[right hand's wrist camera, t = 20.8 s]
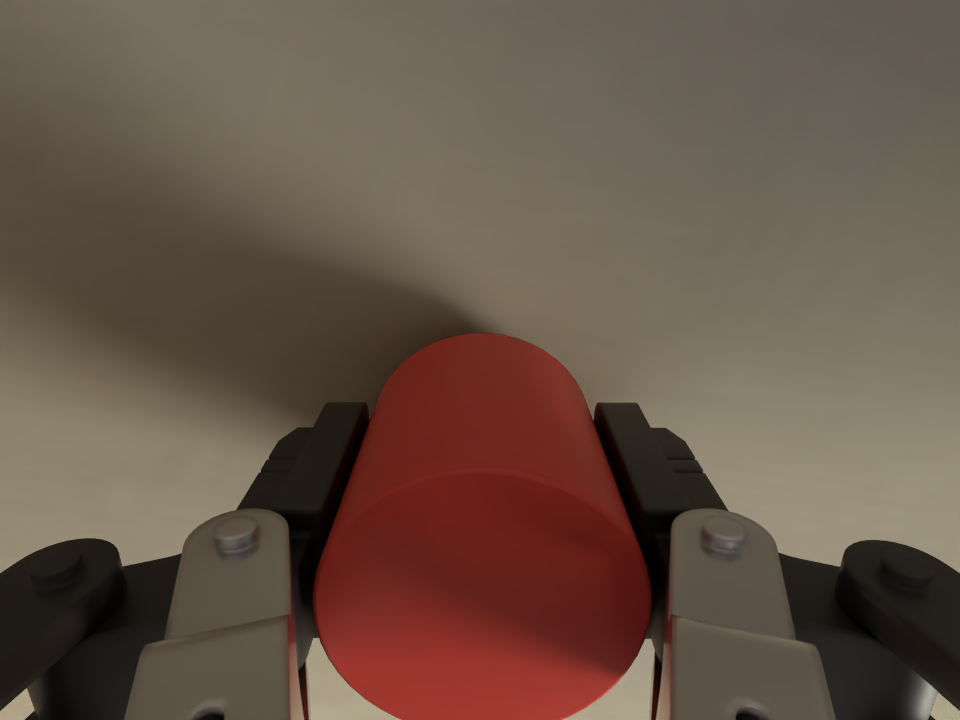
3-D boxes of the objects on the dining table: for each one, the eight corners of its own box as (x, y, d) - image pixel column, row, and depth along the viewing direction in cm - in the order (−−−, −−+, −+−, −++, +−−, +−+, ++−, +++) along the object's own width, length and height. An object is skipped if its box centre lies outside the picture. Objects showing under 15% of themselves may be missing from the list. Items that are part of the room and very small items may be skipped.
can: (340, 478, 13) (264, 677, 8) (425, 293, 11) (390, 411, 7) (528, 553, 14) (552, 774, 9) (630, 387, 12) (720, 551, 8)
